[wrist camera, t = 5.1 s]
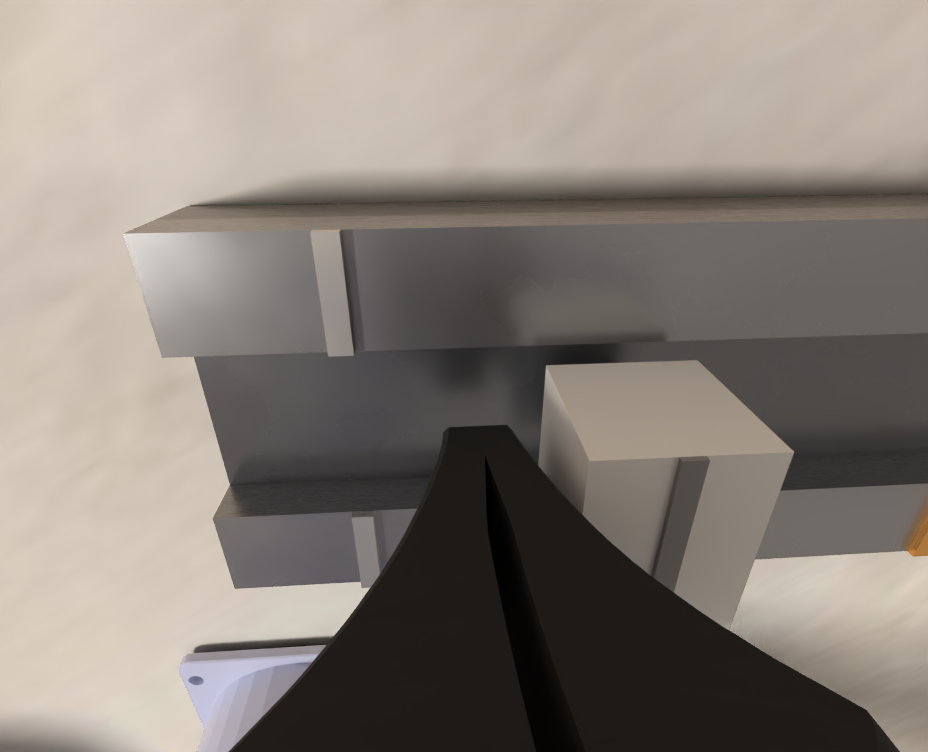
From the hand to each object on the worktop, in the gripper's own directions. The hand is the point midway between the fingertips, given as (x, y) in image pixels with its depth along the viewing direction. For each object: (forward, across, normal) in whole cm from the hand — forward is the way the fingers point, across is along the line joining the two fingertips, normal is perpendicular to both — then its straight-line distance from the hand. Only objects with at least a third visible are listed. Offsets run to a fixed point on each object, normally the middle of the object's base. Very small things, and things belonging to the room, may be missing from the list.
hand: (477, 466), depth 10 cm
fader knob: (+2, -3, 0) cm, 4 cm away
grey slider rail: (+4, -5, 0) cm, 7 cm away
